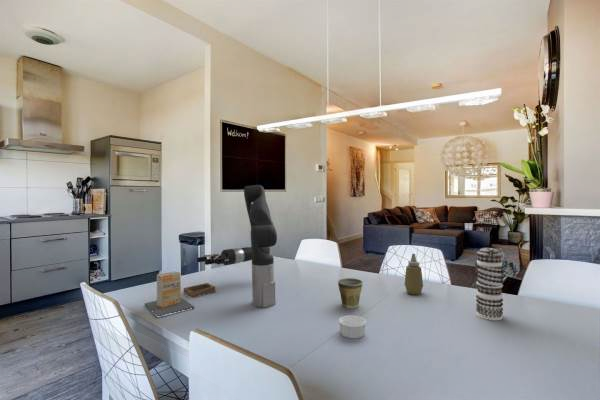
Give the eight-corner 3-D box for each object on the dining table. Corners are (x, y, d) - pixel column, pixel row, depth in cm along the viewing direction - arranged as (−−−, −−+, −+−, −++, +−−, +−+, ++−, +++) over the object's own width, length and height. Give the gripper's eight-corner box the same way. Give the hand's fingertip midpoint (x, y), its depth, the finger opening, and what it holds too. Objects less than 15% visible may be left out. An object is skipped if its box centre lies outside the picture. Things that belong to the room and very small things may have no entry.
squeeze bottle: (420, 290, 143) (420, 252, 143) (425, 295, 135) (425, 255, 135) (402, 289, 144) (402, 252, 144) (406, 295, 136) (406, 255, 136)
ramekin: (347, 325, 107) (347, 313, 107) (370, 332, 102) (370, 319, 101) (333, 334, 100) (333, 321, 100) (357, 342, 95) (357, 329, 95)
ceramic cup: (362, 310, 120) (362, 285, 119) (337, 309, 122) (337, 284, 121) (362, 299, 132) (362, 276, 132) (339, 298, 134) (339, 275, 134)
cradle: (215, 292, 145) (215, 286, 145) (190, 297, 138) (190, 292, 137) (207, 287, 152) (207, 282, 152) (183, 293, 144) (183, 288, 144)
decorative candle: (490, 322, 108) (490, 252, 107) (469, 312, 116) (469, 247, 116) (510, 319, 110) (510, 250, 109) (488, 309, 119) (488, 246, 118)
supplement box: (162, 308, 122) (161, 276, 122) (156, 306, 125) (155, 274, 125) (181, 303, 128) (180, 272, 128) (176, 300, 132) (175, 270, 131)
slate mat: (194, 308, 125) (194, 306, 125) (157, 318, 115) (157, 315, 115) (178, 297, 138) (178, 295, 138) (144, 305, 129) (144, 303, 129)
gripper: (225, 247, 155) (194, 251, 144) (240, 250, 144) (207, 254, 133) (225, 262, 155) (194, 267, 144) (240, 266, 144) (208, 271, 133)
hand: (201, 261), depth 139 cm, fingers open, 8 cm apart
